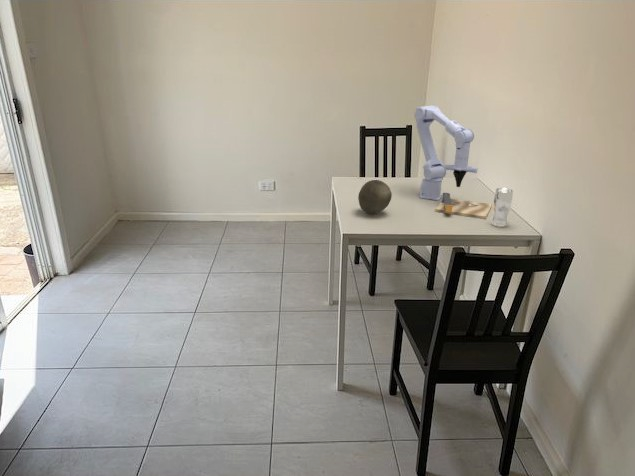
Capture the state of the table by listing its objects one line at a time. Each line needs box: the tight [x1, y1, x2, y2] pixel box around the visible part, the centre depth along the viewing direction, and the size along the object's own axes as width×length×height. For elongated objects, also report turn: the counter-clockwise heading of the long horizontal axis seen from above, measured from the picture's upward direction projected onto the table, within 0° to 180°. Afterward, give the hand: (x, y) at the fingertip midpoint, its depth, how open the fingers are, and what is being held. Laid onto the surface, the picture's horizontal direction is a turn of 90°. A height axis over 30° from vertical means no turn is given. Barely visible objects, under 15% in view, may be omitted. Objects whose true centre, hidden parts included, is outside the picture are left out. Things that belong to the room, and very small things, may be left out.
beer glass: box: [491, 187, 514, 228], centre depth 195 cm, size 7×7×15 cm
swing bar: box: [441, 192, 453, 212], centre depth 213 cm, size 19×3×3 cm, turn 170°
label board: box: [434, 198, 493, 220], centre depth 215 cm, size 22×18×2 cm
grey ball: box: [357, 179, 393, 215], centre depth 208 cm, size 14×14×15 cm
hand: (458, 186), depth 216 cm, fingers closed
